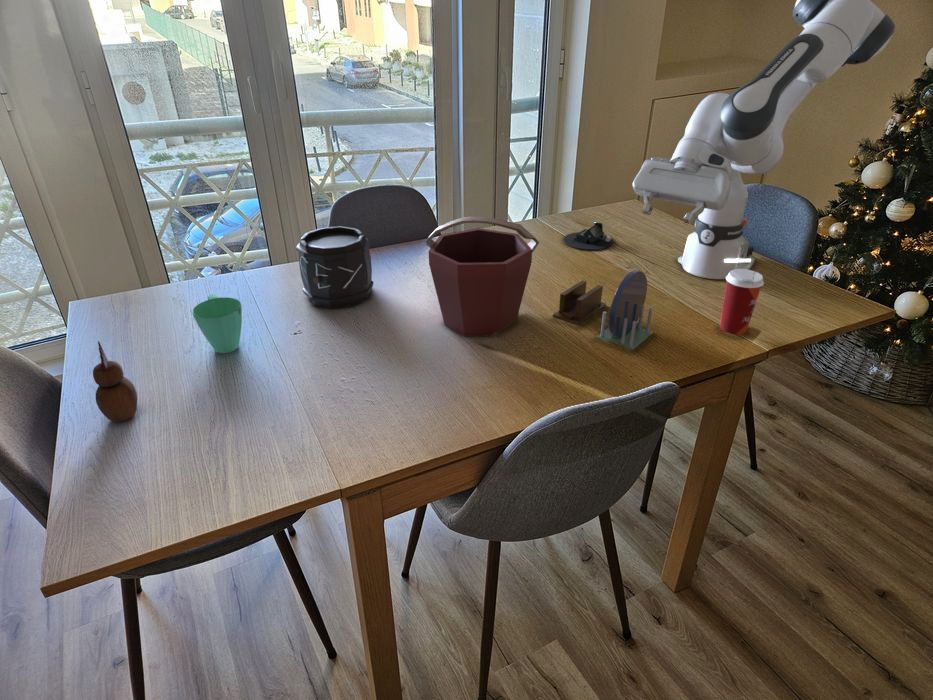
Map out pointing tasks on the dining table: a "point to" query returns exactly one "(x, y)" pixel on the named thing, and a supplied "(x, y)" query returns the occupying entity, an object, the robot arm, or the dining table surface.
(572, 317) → the napkin holder
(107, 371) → the wooden figurine
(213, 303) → the mug
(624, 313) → the plate
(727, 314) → the paper cup
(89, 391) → the dining table surface
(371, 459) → the dining table surface
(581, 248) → the dark blue round base
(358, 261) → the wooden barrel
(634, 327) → the dish rack
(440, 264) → the bucket
